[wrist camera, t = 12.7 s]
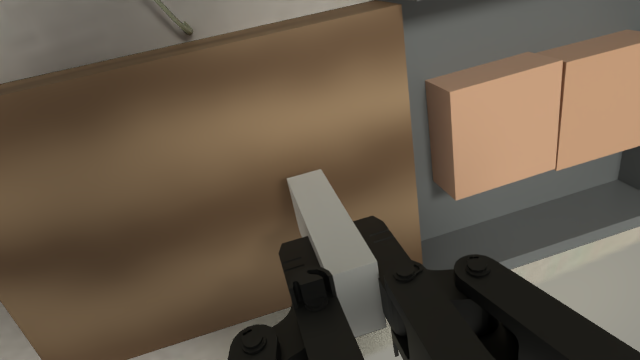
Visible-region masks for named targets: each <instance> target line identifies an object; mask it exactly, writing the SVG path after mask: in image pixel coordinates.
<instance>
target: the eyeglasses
mask: <svg viewBox="0 0 640 360" xmlns="http://www.w3.org/2000/svg"><path fill="white" fill-rule="evenodd" d="M154 1H155V2H156V3H157V4H158V5H159V6H160V7H161V8H162V9H163V10H164V12H165V13H166V14H167V15H168V16H169V17H170V18H171V19H172V20H173V21H174V22H175V23H176V24H177V25H178V26H179V27H180V28H181V29H182V30H183V31H184V32H186V33H187V34H189V35H191V34H192V33H193V31H192V28H191V27H190V26H189V25H188V24H187V23H186V22H185V21H184V23H181V22H180V21H179V20H178V19H177V18H176V17H175V16H174V15H173V14H172V13H171V12H170V11H169V9H168V8H167V7H166V6H165V5H164V4H163V3H162V2H161V1H160V0H154Z"/></svg>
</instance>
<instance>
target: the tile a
mask: <svg viewBox="0 0 640 360" xmlns="http://www.w3.org/2000/svg"><path fill="white" fill-rule="evenodd" d="M562 67H563V60H561V59H557V58H553V57H548V56H544V55H540V54H536V53H532V52H525V53H522V54H518V55H515V56H511V57H507V58H504V59H500V60H497V61H493V62H489V63H486V64H482V65H478V66H475V67H471V68H468V69H464V70H460V71H457V72H453V73H450V74H446V75H442V76H439V77H435V78H432V79H428V80H425V86H426V98H427V110H428V123H429V135H430V147H431V159H432V172H433V181H434V182H435V183H436V184H437V185H439V186H440V187H441V188H442V189H443V190H444V191H445V192H447V193H448V194H449V195H450V196H451V197H452V198H453V199H454V200H460V199H463V198H466V197H469V196H472V195H475V194H478V193H481V192H484V191H488V190H491V189H494V188H497V187H500V186H503V185H506V184H509V183H512V182H516V181H519V180H522V179H525V178H528V177H531V176H534V175H537V174H540V173H544V172H547V171H550V170H553V169H555V166H556V152H557V138H558V123H559V109H560V95H561V81H562Z"/></svg>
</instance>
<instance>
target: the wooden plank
mask: <svg viewBox="0 0 640 360" xmlns="http://www.w3.org/2000/svg"><path fill="white" fill-rule="evenodd" d="M319 169H321V170H322V172H323V173H324V175H325V177H326V178H327V180H328V181H329V183H330V185H331V186H332V188H333V190H334V191H335V193H336V195H337V196H338V198H339V199H340V201H341V203H342V204H343V206H344V208H345V209H346V211H347V213H348V214H349V216H350V218H351V219H352V221H356V220H359V219H362V218H366V217H369V216H374V217H376V218H378V219H380V220H382V221H383V222H384V223H385V225H386V226H387V227H388V229H389V231H391V233H392V234H393V235H394V237H395V238H396V240H397V241H398V242H399V244H400V245H401V246H402V248H403V249H404V251H405V252H406V253H407V255H408V256H409V257H410V259H411V260H413V261H416V262H419V263H421V264H423V260H422V248H421V236H420V224H419V212H418V200H417V187H416V175H415V163H414V151H413V139H412V127H411V115H410V102H409V90H408V78H407V66H406V54H405V42H404V30H403V17H402V5H401V4H397V3H391V2H384V1H378V0H374V1H369V2H365V3H360V4H356V5H351V6H347V7H343V8H338V9H334V10H329V11H325V12H320V13H316V14H311V15H307V16H302V17H298V18H293V19H289V20H284V21H280V22H276V23H271V24H267V25H262V26H258V27H253V28H249V29H244V30H240V31H235V32H231V33H226V34H222V35H218V36H213V37H209V38H204V39H200V40H195V41H191V42H186V43H182V44H177V45H173V46H168V47H164V48H160V49H155V50H151V51H146V52H142V53H137V54H133V55H128V56H124V57H119V58H115V59H110V60H106V61H102V62H97V63H93V64H88V65H84V66H79V67H75V68H70V69H66V70H61V71H57V72H52V73H48V74H44V75H39V76H35V77H30V78H26V79H21V80H17V81H12V82H8V83H3V84H0V301H1V302H2V304H3V305H4V307H5V308H6V310H7V311H8V312H9V314H10V315H11V317H12V318H13V319H14V321H15V322H16V324H17V325H18V327H19V328H20V329H21V331H22V332H23V334H24V335H25V337H26V338H27V339H28V341H29V342H30V344H31V345H32V346H33V348H34V349H35V351H36V352H37V354H38V355H39V356H40V358H41V359H42V360H127V359H130V358H133V357H137V356H140V355H143V354H146V353H149V352H152V351H155V350H158V349H161V348H164V347H168V346H171V345H174V344H177V343H180V342H183V341H186V340H189V339H192V338H195V337H199V336H202V335H205V334H208V333H211V332H214V331H217V330H220V329H223V328H226V327H230V326H233V325H236V324H239V323H242V322H245V321H248V320H251V319H254V318H258V317H261V316H264V315H267V314H270V313H273V312H276V311H279V310H282V309H285V308H289V307H291V306H292V301H291V297H290V293H289V289H288V286H287V282H286V279H285V275H284V272H283V268H282V264H281V261H280V257H279V254H278V253H279V250H280V247H281V244H282V243H285V242H289V241H292V240H295V239H299V238H302V236H301V234H300V231H299V227H298V223H297V219H296V215H295V211H294V207H293V202H292V198H291V194H290V190H289V186H288V182H287V178H290V177H294V176H297V175H301V174H305V173H308V172H312V171H315V170H319Z"/></svg>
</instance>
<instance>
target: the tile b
mask: <svg viewBox="0 0 640 360" xmlns="http://www.w3.org/2000/svg"><path fill="white" fill-rule="evenodd" d="M536 54H540V55H544V56H548V57H553V58H557V59H561V60H563V67H562V81H561V95H560V109H559V123H558V138H557V152H556V166H555V169H554V170H556V171H558V170H561V169H565V168H568V167H571V166H575V165H578V164H581V163H585V162H588V161H591V160H595V159H598V158H601V157H604V156H608V155H611V154H614V153H618V152H621V151H624V150H628V149H631V148H634V147H638V146H640V31H634V30H623V31H619V32H616V33H612V34H608V35H604V36H600V37H596V38H592V39H588V40H584V41H580V42H576V43H572V44H569V45H565V46H561V47H557V48H553V49H549V50H545V51H541V52H537V53H536Z"/></svg>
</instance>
